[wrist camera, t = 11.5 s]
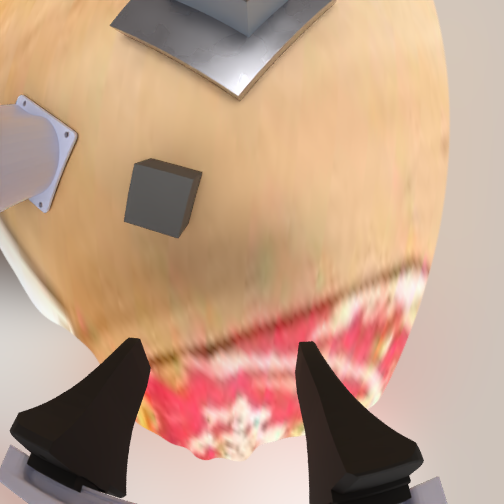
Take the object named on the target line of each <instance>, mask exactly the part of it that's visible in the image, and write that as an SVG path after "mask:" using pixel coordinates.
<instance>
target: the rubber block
mask: <svg viewBox="0 0 504 504" xmlns="http://www.w3.org/2000/svg"><path fill="white" fill-rule="evenodd" d="M201 175H202V172H199V171H196V170H192V169H189V168H185V167H182V166H178V165H174V164H170V163H167V162H163V161H159V160H155V159H148V160H144V161H141V162H138V163H135V164H134V168H133V173H132V178H131V183H130V188H129V193H128V199H127V205H126V211H125V218H124V222H127V223H130V224H133V225H137V226H140V227H143V228H146V229H149V230H153V231H156V232H159V233H162V234H165V235H169V236H172V237H175V238H179V237H180V235H181V234H182V232H183V231H184V229H185V228H186V226H187V225H188V223H189V219H190V215H191V211H192V208H193V204H194V200H195V197H196V193H197V189H198V186H199V182H200V179H201Z"/></svg>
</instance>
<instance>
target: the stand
mask: <svg viewBox="0 0 504 504" xmlns="http://www.w3.org/2000/svg"><path fill="white" fill-rule="evenodd" d="M335 2H336V0H288V1H287V2H286V3H285V4H283V5H282V6H281V7H280V8H279V9H278V10H277V11H276V12H274V13H273V14H272V15H271V16H270V17H269V18H268V19H267V20H266V21H265V22H264V23H263V24H262V25H261V26H260V27H259V28H258V29H257V30H255V31H254V32H253V33H252V35H251V36H250V37H247V36H246V35H244V34H242V33H240V32H239V31H237V30H235V29H233V28H232V27H230V26H228V25H226V24H224V23H223V22H221V21H219V20H217V19H215V18H213V17H211V16H209V15H207V14H205V13H203V12H201V11H199V10H197V9H194V8H192V7H190V6H188V5H185V4H183V3H181V2H178V1H176V0H130V2H129V3H128V4H127V5H126V6H125V7H124V8H123V10H122V11H121V12H120V13H119V14H118V16H117V17H116V18H115V19H114V21H113V22H112V23H111V24H110V26H111V27H113V28H114V29H116V30H117V31H119V32H121V33H122V34H124V35H126V36H128V37H130V38H132V39H135V40H137V41H139V42H141V43H143V44H145V45H147V46H149V47H151V48H153V49H155V50H157V51H159V52H161V53H162V54H164V55H166V56H168V57H170V58H172V59H173V60H175V61H177V62H179V63H181V64H182V65H184V66H186V67H188V68H189V69H191V70H193V71H194V72H196V73H198V74H199V75H201V76H203V77H204V78H206V79H207V80H209V81H211V82H212V83H214V84H215V85H217V86H218V87H220V88H222V89H223V90H225V91H226V92H228V93H229V94H231V95H232V96H234V97H235V98H237V99H238V100H239V101H240V100H241V99H242V98H243V97H244V96H245V94H246V93H247V92H248V91H249V90H250V89H251V87H252V86H253V85H254V84H255V83H256V82H257V80H258V79H259V78H260V77H261V76H262V75H263V74H264V73H265V71H266V70H267V69H268V68H269V67H270V66H271V65H272V64H273V63H274V62H275V61H276V59H277V58H278V57H279V56H280V55H281V54H282V53H283V52H284V51H285V50H286V49H287V48H288V47H289V46H290V45H291V44H292V43H293V42H294V41H295V40H296V39H297V38H298V37H299V36H300V35H301V34H302V33H303V32H304V31H305V30H306V29H307V28H308V27H309V26H310V25H311V24H312V23H313V22H315V21H316V20H317V19H318V18H319V17H320V16H321V15H322V14H323V13H324V12H326V11H327V10H328V9H329V8H330V7H331V6H332V5H334V3H335Z"/></svg>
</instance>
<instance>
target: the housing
mask: <svg viewBox="0 0 504 504" xmlns="http://www.w3.org/2000/svg"><path fill="white" fill-rule="evenodd" d="M176 1H178V2H181V3H183V4H185V5H188V6H190V7H192V8H194V9H197V10H199V11H201V12H203V13H205V14H207V15H209V16H211V17H213V18H215V19H217V20H219V21H221V22H223V23H224V24H226V25H228V26H230V27H232V28H233V29H235V30H237V31H239V32H240V33H242V34H244V35H246V36H247V37H250V36H251V35H252V33H253V32H254V31H255V30H257V29H258V28H259V27H260V26H261V25H262V24H263V23H264V22H265V21H266V20H267V19H268V18H269V17H270V16H271V15H272V14H273V13H274V12H276V11H277V10H278V9H279V8H280V7H281V6H282V5H283V4H285V3H286V2H287V1H288V0H176Z"/></svg>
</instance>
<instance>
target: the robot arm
mask: <svg viewBox="0 0 504 504" xmlns="http://www.w3.org/2000/svg"><path fill="white" fill-rule="evenodd" d="M68 132H69V136H67V133H68ZM76 140H77V133H76V132H75V131H74V130H72V129H71V128H70V127H68V126H67V125H65V124H64V123H62V122H61V121H60V120H58V119H57V118H55V117H54V116H53V115H51V114H50V113H48V112H47V111H46V110H44V109H43V108H41V107H40V106H39V105H37V104H36V103H34V102H33V101H32V100H30V99H29V98H27V97H26V96H25V95H20V96H19V97H18V99H17V101H16V104H9V105H0V212H2V211H4V210H6V209H8V208H10V207H12V206H14V205H16V204H18V203H20V202H23V201H25V200H27V199H29V200H30V201H31V202H32V203H33V204H34V205H36V206H37V207H38V208H39V209H40V210H41V211H42V212H44V213H46V212H48V211H49V209H50V206H51V203H52V200H53V197H54V194H55V191H56V188H57V185H58V183H59V180H60V177H61V175H62V172H63V170H64V167H65V165H66V162H67V160H68V158H69V155H70V153H71V151H72V148H73V146H74V144H75V142H76ZM41 203H42V204H41ZM150 369H151V367H150V365H149V362H148V359H147V357H146V354H145V351H144V349H143V346H142V343H141V340H140V339H138V338H128V339H127V340H126V341H124V342H123V343H122V344H121V345H120V346H119V347H118V348H117V349H116V350H115V351H114V352H113V353H112V354H111V355H110V356H109V357H108V358H107V359H106V360H105V361H104V362H103V363H101V364H100V365H99V366H98V367H97V368H96V369H95V370H94V371H92V372H91V373H90V374H89V375H88V376H87V377H85V378H84V379H83V380H82V381H80V382H79V383H78V384H76V385H75V386H73V387H72V388H71V389H69V390H68V391H66V392H64V393H63V394H61V395H59V396H57V397H56V398H54V399H52V400H50V401H48V402H46V403H44V404H42V405H39V406H37V407H34V408H32V409H29V410H26V411H23V412H20V413H18V415H17V417H16V419H15V421H14V423H13V425H12V427H11V429H10V433H11V435H12V436H13V437H14V438H15V439H16V440H17V441H18V442H19V443H20V444H22V445H23V446H24V447H25V448H26V449H27V450H29V451H30V452H31V455H30V457H29V456H28V455H26V454H25V453H24V452H22V451H20V450H19V449H17V448H16V447H14V446H13V445H10V447H9V449H8V451H7V454H6V456H5V458H4V460H3V463H2V465H1V468H0V482H1V483H2V484H4V485H5V486H6V487H7V488H9V489H10V490H11V491H13V492H14V493H15V494H17V495H18V496H19V497H20V498H22V499H23V500H24V501H26V502H27V503H28V504H135V503H132V502H128V501H125V500H121V499H118V498H115V497H119V498H122V497H124V496H126V474H127V462H128V453H129V446H130V440H131V435H132V430H133V426H134V423H135V420H136V417H137V414H138V411H139V408H140V405H141V402H142V399H143V396H144V393H145V391H146V388H147V384H148V379H149V374H150ZM295 376H296V387H297V395H298V399H299V404H300V409H301V414H302V419H303V423H304V428H305V434H306V440H307V453H308V468H309V503H310V504H447V501H446V497H445V494H444V491H443V488H442V485H441V481H440V478H439V477H435V478H433V479H431V480H428V481H426V482H424V483H421V484H419V485H416V486H414V487H412V488H410V489H409V486H408V484H409V483H410V481H411V480H410V477H409V475H410V474H411V473H413V472H414V471H415V470H417V469H418V468H419V467H420V466H421V465H422V463H423V461H424V460H423V457H422V454H421V452H420V450H419V448H418V446H417V444H416V442H414V441H412V440H410V439H408V438H406V437H404V436H403V435H401V434H399V433H397V432H396V431H394V430H393V429H391V428H390V427H388V426H387V425H386V424H384V423H383V422H382V421H380V420H379V419H378V418H377V417H375V416H374V415H373V414H372V413H370V412H369V411H368V410H367V409H366V408H365V407H364V406H363V405H362V404H361V403H360V402H359V401H358V400H357V399H356V398H355V397H354V396H353V395H352V394H351V393H350V392H349V391H348V390H347V388H346V387H345V386H344V385H343V384H342V382H341V381H340V380H339V379H338V377H337V376H336V375H335V373H334V372H333V371H332V369H331V368H330V366H329V365H328V364H327V362H326V360H325V359H324V357H323V356H322V354H321V353H320V351H319V349H318V348H317V346H316V344H315V343H314V342H313V341H311V342H299V348H298V355H297V363H296V370H295ZM101 492H102V493H101ZM104 493H105V494H104ZM106 494H109V495H113V496H115V497H112V496H109V495H106Z"/></svg>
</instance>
